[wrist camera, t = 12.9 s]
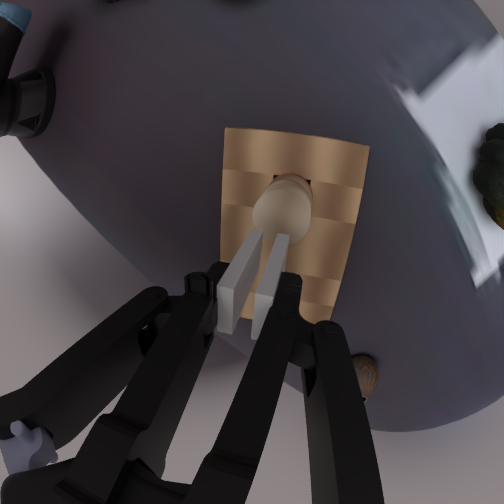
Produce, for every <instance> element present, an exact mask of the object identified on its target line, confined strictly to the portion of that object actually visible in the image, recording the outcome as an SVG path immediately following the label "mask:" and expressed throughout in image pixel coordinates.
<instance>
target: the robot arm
mask: <svg viewBox="0 0 504 504" xmlns="http://www.w3.org/2000/svg"><path fill="white" fill-rule="evenodd" d="M31 16H32V12H31V10H30V9H28V8H26V7H22V6H19V5H14V4H10V3H2V2H0V137H2V136H5V135H11V136H18V137H24V138H29V137H33V136H37V135H39V134H40V133H42V131H43V130H44V129H45V127H46V126H47V124H48V122H49V120H50V117H51V114H52V110H53V106H54V99H55V83H54V78H53V75H52V73H51V72H50V71H49V70H48V69H46V68H36V69H32V70H30V71H27V72H25V73H23V74H21V75H18V76H16V77H14V78H10V79H8V76H9V72H10V69H11V66H12V64H13V61H14V58H15V55H16V53H17V50H18V47H19V45H20V43H21V40H22V38H23V35H25V33H26V28H27V26H28V24H29V21H30V19H31ZM289 237H290V235H286V234H280V233H278V234H277V237H276V239H275V242H274V245H273V247H272V250H271V253H270V256H269V258H268V261H267V264H266V266H265V269H264V272H263V274H262V277H261V280H260V282H259V285H258V287H257V290H256V293H255V301H254V311H253V321H252V332H251V339H254V340H257V342H256V344H255V347H254V350H253V352H252V355H251V357H250V360H249V362H248V365H247V367H246V370H245V372H244V375H243V377H242V380H241V382H240V385H239V387H238V389H237V392H236V394H235V397H234V399H233V402H232V404H231V406H230V409H229V411H228V413H227V416H226V418H225V420H224V423H223V425H222V427H221V430H220V432H219V434H218V437H217V439H216V441H215V444H214V446H213V448H212V450H211V451H210V453H208V454H207V455H206V456H205V458H204V460H203V461H202V464H201V465H200V467H199V470H198V472H197V474H196V476H195V478H194V480H193V482H192V484H184V483H176V482H169V481H164V480H162V479H161V477H162V474H163V472H164V469H165V458H166V454H167V451H168V449H169V446H170V443H171V441H172V438H173V436H174V434H175V431H176V429H177V426H178V424H179V421H180V419H181V417H182V414H183V412H184V409H185V407H186V404H187V402H188V399H189V397H190V395H191V392H192V389H193V387H194V385H195V382H196V380H197V377H198V375H199V372H200V370H201V368H202V365H203V363H204V360H205V358H206V355H207V353H208V351H209V348H210V346H211V343H212V341H213V338H214V329H215V327H216V325H217V331H218V332H222V333H227V334H231V335H232V334H233V331H234V329H235V327H236V324H237V322H238V319H239V317H240V315H241V312H242V310H243V307H244V305H245V303H246V300H247V298H248V295H249V293H250V290H251V288H252V286H253V283H254V281H255V278H256V276H257V273H258V271H259V268H260V260H261V249H262V239H263V231H261V230H255V229H251V231H250V232H249V234H248V235H247V237H246V239H245V240H244V242H243V244H242V245H241V247H240V248H239V250H238V252H237V253H236V255H235V257H234V258H233V260H232V262H231V263H228V262H222V261H218V262H216V263H215V264H213V265H212V266H211V267H210V269H209V271H208V272H207V273H204V272H193V273H190V274H187V275H186V276H185V277H184V283H185V293H184V295H182V296H168V292H167V290H166V289H164V288H163V287H159V286H153V287H149V288H146V289H145V290H143V291H142V292H140V293H139V294H138V295H136V296H135V297H134V298H132V299H131V300H130V301H128V302H127V303H126V304H125V305H123V306H122V307H121V308H119V309H118V310H117V311H115V312H114V313H113V314H112V315H110V316H109V317H108V318H106V319H105V320H104V321H103V322H101V323H100V324H99V325H98V326H96V327H95V328H94V329H92V330H91V331H90V332H89V333H87V334H86V335H85V336H84V337H82V338H81V339H80V340H79V341H77V342H76V343H75V344H74V345H72V346H71V347H70V348H69V349H67V350H66V351H65V352H64V353H63V354H61V355H60V356H59V357H58V358H57V359H55V360H54V361H53V362H52V363H51V364H49V365H48V366H47V367H46V368H45V369H44V370H42V371H41V372H40V373H39V374H38V375H36V376H35V377H34V378H33V379H32V380H31V381H29V382H28V383H27V384H26V385H25V386H24V387H22V388H20V389H18V390H16V391H13V392H11V393H8V394H6V395H4V396H1V397H0V449H1V452H2V455H3V459H4V462H5V465H6V468H7V471H8V473H9V476H8V477H7V478H6V479H5V480H4V482H3V484H2V487H1V492H0V494H1V504H245V501H246V499H247V496H248V493H249V490H250V488H251V485H252V482H253V479H254V476H255V473H256V470H257V467H258V464H259V461H260V458H261V455H262V452H263V449H264V445H265V442H266V439H267V436H268V433H269V429H270V426H271V422H272V419H273V415H274V412H275V409H276V405H277V402H278V398H279V395H280V391H281V387H282V383H283V380H284V376H285V372H286V368H287V364H288V362H290V363H293V364H295V365H297V366H299V367H301V375H302V384H303V394H304V403H305V413H306V424H307V435H308V448H309V460H310V474H311V490H312V491H311V492H312V504H384V497H383V491H382V485H381V479H380V474H379V468H378V463H377V458H376V453H375V449H374V444H373V439H372V435H371V430H370V426H369V421H368V417H367V413H366V409H365V405H364V401H363V397H362V393H361V390H360V386H359V382H358V378H357V375H356V371H355V368H354V364H353V361H352V357H351V354H350V350H349V347H348V344H347V340H346V337H345V334H344V331H343V329H342V327H341V326H340V325H339V324H337V323H335V322H333V321H329V320H322V321H319V322H317V323H316V324H313V323H310V322H308V321H306V320H305V319H304V318H303V317H302V316H301V315H300V312H299V306H300V299H301V291H302V284H303V280H302V278H301V276H300V275H299V274H293V273H288V272H284V271H285V265H286V258H287V251H288V244H289ZM145 326H147V327H146V328H145V329H143V328H144V327H145ZM142 329H143V330H142ZM126 386H127V387H126ZM125 387H126V389H125V391H124V392H123V394H122V396H121V397H120V399H119V401H118V403H117V404H116V406H115V408H114V410H113V411H112V412H111V413H109V414H102V415H101V416H99V418H98V419H97V420H96V422H95V423H94V425H93V427H92V429H91V430H90V432H89V434H88V436H87V437H86V439H85V441H84V443H83V444H82V446H81V448H80V450H79V452H78V453H77V455H76V457H75V458H72V459H68V460H65V461H62V462H59V463H55V462H56V461H57V460H58V455H57V453H56V452H55V450H57V449H59V448H61V447H63V446H64V445H66V444H67V443H69V442H70V441H71V440H73V438H75V437H76V436H77V435H78V434H79V433H80V432H81V431H82V430H83V429H84V428H85V427H86V426H87V425H88V424H89V423H90V422H91V421H92V420H93V419H94V418H95V417H96V416H97V415H98V414H99V413H100V412H101V411H102V410H103V409H104V408H105V407H106V406H107V405H108V404H109V403H110V402H111V401H112V400H113V399H114V398H115V397H116V396H117V395H118V394H119V393H120V392H121V391H122V390H123V389H124V388H125ZM49 462H50V463H55V464H51V465H48V466H46V465H47V464H48V463H49Z"/></svg>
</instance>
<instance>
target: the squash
mask: <svg viewBox="0 0 504 504" xmlns="http://www.w3.org/2000/svg"><path fill="white" fill-rule="evenodd" d="M480 156H481V159H482V161H483V162H482V163H480V164H479V165H478V166H477V167H476V168H475V170H474V173H473V181H474V184H475V186H476V188H477V190H478V191H479V192H480V193H481V195H483V204H484V207H485V209H486V211H487V213H488V214H489V216H490V217H491V218H492V220H493V221H494V222H495V223H496V224H497V225H498V226H500V227H501V228H502V229H503V230H504V123H498V124H497V125H495V126H494V127H493V128H490V129H488V131H487V134H486V142H485V143H483V144H482V146H481V148H480Z"/></svg>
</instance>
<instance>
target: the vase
mask: <svg viewBox="0 0 504 504" xmlns="http://www.w3.org/2000/svg"><path fill="white" fill-rule="evenodd" d="M352 361H353V364H354V368H355V371H356V375H357V378H358V382H359V386H360V390H361V393H362V397H363V401H364V403H365V402H367V400H368V398H369V396H370V395H371V394H372V393H373V391H374V390H375V389H376V387H377V384H378V380H379V371H378V367H377V365H376V363H375V362H374V361H373V360H372V359H371V358H369V357H367V356H363V355H359V356H355V357H353V358H352Z"/></svg>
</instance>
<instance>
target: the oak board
mask: <svg viewBox="0 0 504 504" xmlns="http://www.w3.org/2000/svg"><path fill="white" fill-rule="evenodd" d="M369 148H370V147H369V146H367V145H364V144H360V143H355V142H350V141H345V140H340V139H334V138H328V137H322V136H316V135H309V134H302V133H294V132H286V131H276V130H266V129H254V128H239V127H231V128H225V137H224V156H223V178H222V205H221V241H220V261H222V262H228V263H231V262H232V260H233V258H234V257H235V255H236V253H237V252H238V250H239V248H240V247H241V245H242V244H243V242H244V240H245V239H246V237H247V235H248V234H249V232H250V231H251V229H255V230H256V228H255V226H254V223H253V218H252V214H253V209H254V206H255V204H256V202H257V201H258V199H259V198H260V197H261V195H262V194H263V193H264V192H265V190H266V189H267V188H268V186H269V185H270V183H271V182H272V181H273V180H274V179H275V178H276V177H277V176H278V175H281V174H285V173H293V174H297V175H300V176H301V177H303V178H304V179H308V180H311V182H310V187H311V189H312V194H313V197H312V205H311V218H310V225H309V228H308V231H307V232H306V234H305V235H304V236H303V237H302V238H301V239H300V240H299V241H297V242H295V243H292V244H289V245H288V251H287V258H286V265H285V272H291V273H296V274H299V275H300V276H301V278H302V280H303V284H302V291H301V299H300V306H299V312H300V315H301V316H302V317H303V318H304V319H305V320H306V321H308V322H310V323H313V324H316V323H317V322H319V321H322V320H330V317H331V314H332V311H333V307H334V304H335V301H336V298H337V294H338V291H339V287H340V284H341V280H342V277H343V273H344V269H345V265H346V262H347V258H348V254H349V250H350V246H351V242H352V237H353V233H354V229H355V224H356V220H357V215H358V210H359V205H360V200H361V195H362V190H363V185H364V179H365V173H366V167H367V161H368V155H369ZM273 245H274V244H273V243H271V242H269V241H267V240H265V239H264V238H263V239H262V249H261V260H260V268H259V271H258V273H257V276H256V278H255V281H254V283H253V286H252V288H251V290H250V293H249V295H248V298H247V300H246V303H245V305H244V307H243V310H242V312H241V315H240V317H243V318H248V319H253V311H254V301H255V293H256V290H257V287H258V285H259V282H260V280H261V277H262V274H263V272H264V269H265V266H266V264H267V261H268V258H269V256H270V253H271V250H272V247H273Z"/></svg>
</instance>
